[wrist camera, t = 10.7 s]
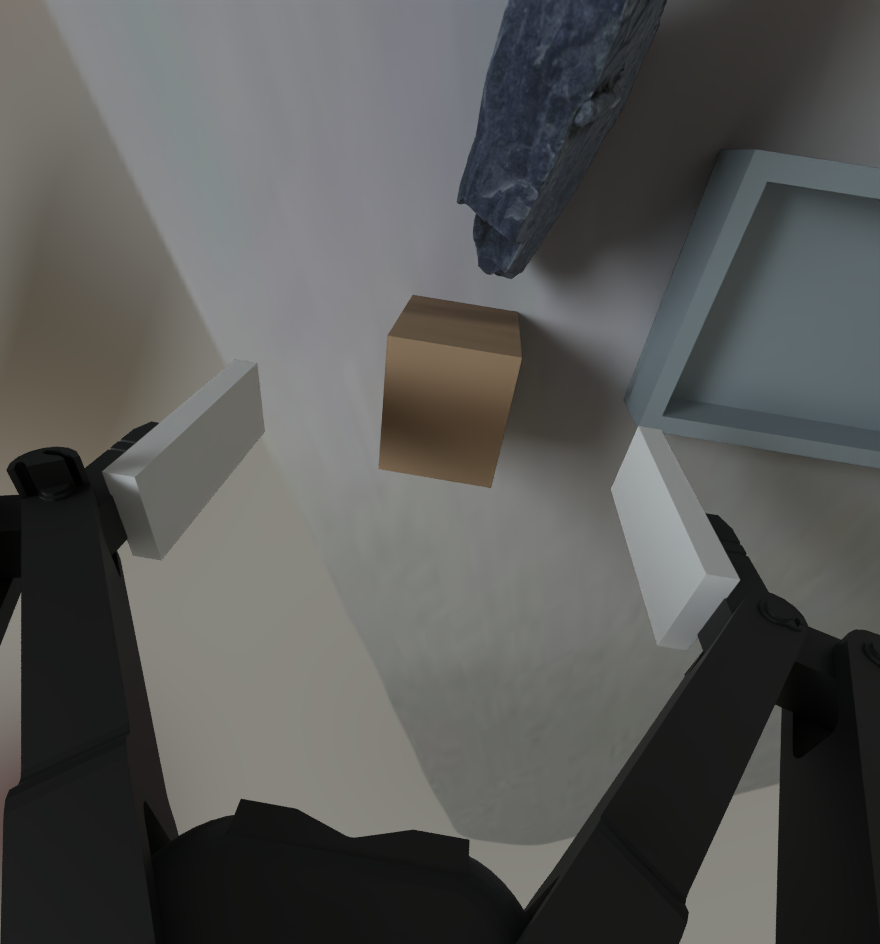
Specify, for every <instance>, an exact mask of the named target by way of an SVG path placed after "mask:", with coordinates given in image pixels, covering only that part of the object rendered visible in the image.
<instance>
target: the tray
mask: <svg viewBox="0 0 880 944" xmlns="http://www.w3.org/2000/svg"><path fill="white" fill-rule="evenodd" d="M624 402H625V404H626V406H627V408H628V410H629V412H630V414H631V416H632V418H633V420H634V422H635V424H636V426H637V428H638V426H642V427H648V428H654V429H660V430H661V431H662V433H667V434H673V435H679V436H685V437H691V438H697V439H703V440H709V441H715V442H721V443H727V444H733V445H740V446H746V447H752V448H758V449H764V450H770V451H776V452H782V453H788V454H794V455H800V456H806V457H812V458H819V459H825V460H831V461H837V462H843V463H849V464H855V465H861V466H867V467H873V468H879V469H880V168H873V167H867V166H860V165H854V164H847V163H841V162H835V161H828V160H822V159H815V158H809V157H802V156H796V155H790V154H783V153H777V152H770V151H764V150H757V149H721V150H720V153H719V155H718V158H717V160H716V163H715V165H714V168H713V171H712V173H711V176H710V178H709V181H708V184H707V186H706V189H705V191H704V194H703V196H702V199H701V202H700V204H699V207H698V209H697V212H696V215H695V217H694V220H693V222H692V225H691V227H690V230H689V233H688V235H687V238H686V240H685V243H684V245H683V248H682V251H681V253H680V256H679V258H678V261H677V264H676V266H675V269H674V271H673V274H672V276H671V279H670V282H669V284H668V287H667V289H666V292H665V295H664V297H663V300H662V302H661V305H660V307H659V310H658V313H657V315H656V318H655V320H654V323H653V326H652V328H651V331H650V333H649V336H648V338H647V341H646V344H645V346H644V349H643V351H642V354H641V357H640V359H639V362H638V364H637V367H636V369H635V372H634V375H633V377H632V380H631V382H630V385H629V388H628V390H627V393H626V395H625V398H624Z"/></svg>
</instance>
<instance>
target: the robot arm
mask: <svg viewBox="0 0 880 944" xmlns="http://www.w3.org/2000/svg"><path fill="white" fill-rule="evenodd" d="M264 432H265V429H264V420H263V411H262V402H261V393H260V384H259V375H258V366H257V363H254V362H248V361H242V360H236V359H235V360H234V361H233V362H232V363H230V364H229V365H228V366H227V367H226V368H224V369H223V370H222V371H221V372H220V373H219V374H217V375H216V376H215V377H214V378H213V379H211V380H210V381H209V382H208V383H207V384H205V385H204V386H203V387H202V388H201V389H199V390H198V391H197V392H196V393H195V394H194V395H192V396H191V397H190V398H189V399H188V400H186V401H185V402H184V403H183V404H182V405H180V406H179V407H178V408H177V409H176V410H175V411H173V412H172V413H171V414H170V415H169V416H168V417H166V418H165V419H164V420H163V421H162V422H160V423H156V422H149V423H147V424H145V425H142V426H140V427H138V428H135V429H133V430H132V431H131V432H129V434H127V435H126V436H124V437H123V438H122V439H121V441H120V442H117V443H116V444H114V445H113V446H112V447H111V449H110V450H107V451H106V452H104V453H103V454H102V455H101V456H100V457H98V458H97V459H96V460H95V461H93V462H92V463H91V464H89V465H88V466H87V467H86V468H84V466H83V463H82V461H81V458H80V456H79V455H78V453H77V452H76V451H75V450H72V449H70V448H65V447H49V448H42V449H38V450H34V451H30V452H28V453H26V454H23V455H21V456H19V457H17V458H16V459H15V460H14V461H12V462H11V463H10V464H9V466H8V468H7V472H8V474H9V476H10V478H11V480H12V482H13V484H14V486H15V488H16V489H17V492H18V493H19V495H5V496H0V644H1V642H2V640H3V637H4V634H5V632H6V629H7V627H8V624H9V621H10V619H11V616H12V614H13V611H14V609H15V606H16V604H17V601H18V599H19V596H20V594H21V779H20V782H19V784H18V785H17V786H15V787H13V788H12V789H10V790H9V792H8V795H7V797H6V799H5V808H4V820H3V862H2V904H1V944H679V942H680V940H681V938H682V935H683V932H684V930H685V927H686V924H687V920H688V913H689V912H688V910H687V908H686V905H685V903H686V898H687V895H688V893H689V890H690V888H691V886H692V883H693V881H694V879H695V877H696V875H697V872H698V870H699V868H700V866H701V864H702V862H703V859H704V857H705V855H706V853H707V851H708V848H709V846H710V844H711V842H712V840H713V837H714V836H715V834H716V831H717V829H718V827H719V825H720V823H721V820H722V818H723V816H724V814H725V812H726V810H727V808H728V805H729V803H730V801H731V799H732V797H733V794H734V792H735V790H736V788H737V786H738V784H739V781H740V779H741V777H742V775H743V773H744V771H745V768H746V766H747V764H748V762H749V760H750V758H751V755H752V753H753V751H754V749H755V747H756V745H757V742H758V740H759V738H760V736H761V734H762V731H763V729H764V727H765V725H766V723H767V721H768V718H769V716H770V714H771V712H772V710H773V708H774V705H778V706H780V707H782V717H781V756H780V794H779V795H780V796H779V833H778V870H777V908H776V944H880V635H878V634H875V633H872V632H869V631H867V630H854V631H851V632H849V633H848V634H847V635H846V636H845V637H844V638H843V639H842V640H840V639H838V638H835V637H833V636H830V635H828V634H826V633H823V632H821V631H818V630H816V629H813V628H811V627H808V624H807V622H806V620H805V618H804V616H803V615H802V614H801V613H800V612H799V611H798V610H797V609H796V608H795V607H794V606H793V605H791V604H790V603H789V602H787V601H786V600H785V599H783V598H781V597H778V596H776V595H774V594H772V593H769V592H768V590H767V588H766V587H765V585H764V583H763V581H762V580H761V578H760V576H759V574H758V573H757V571H756V569H755V567H754V566H753V564H752V562H751V561H750V559H749V557H748V556H746V552H745V550H744V548H743V547H742V545H740V541H739V540H738V538H737V536H736V534H735V533H734V531H733V529H732V528H731V527H730V526H729V525H728V524H727V523H726V522H725V521H723V520H722V519H721V518H720V517H719V516H718V515H713V514H707V513H705V512H704V510H703V508H702V506H701V505H700V503H699V501H698V499H697V497H696V495H695V493H694V491H693V489H692V488H691V486H690V484H689V482H688V480H687V478H686V476H685V474H684V472H683V470H682V469H681V467H680V465H679V463H678V461H677V459H676V457H675V455H674V453H673V452H672V450H671V448H670V446H669V444H668V442H667V440H666V438H665V436H664V435H663V433H662V431H661V430H660V429H654V428H648V427H642V426H638V428H637V430H636V433H635V435H634V437H633V439H632V442H631V444H630V446H629V449H628V451H627V453H626V456H625V458H624V460H623V462H622V465H621V467H620V469H619V472H618V474H617V476H616V479H615V481H614V483H613V485H612V488H611V492H612V495H613V498H614V502H615V505H616V508H617V512H618V515H619V518H620V522H621V525H622V528H623V532H624V535H625V538H626V542H627V545H628V548H629V552H630V555H631V559H632V562H633V565H634V569H635V572H636V575H637V579H638V582H639V585H640V589H641V592H642V595H643V599H644V602H645V605H646V609H647V612H648V615H649V619H650V622H651V625H652V629H653V632H654V635H655V639H656V642H657V645H658V646H662V647H668V648H674V649H679V650H685V651H687V650H688V649H689V648H690V646H691V645H692V644H693V642H694V641H695V640H696V638H697V637H698V638H699V641H700V643H701V646H702V649H703V652H702V653H701V654H700V655H699V657H698V658H697V659H696V661H695V662H694V663H693V664H692V666H691V667H690V668H689V669H688V671H687V672H686V673H685V677H684V679H683V680H682V682H681V683H680V684H679V686H678V687H677V689H676V690H675V692H674V693H673V695H672V696H671V698H670V699H669V701H668V702H667V704H666V705H665V706H664V708H663V709H662V711H661V712H660V714H659V715H658V717H657V718H656V720H655V721H654V723H653V724H652V726H651V727H650V728H649V730H648V731H647V733H646V734H645V736H644V737H643V739H642V740H641V742H640V743H639V745H638V746H637V748H636V749H635V751H634V752H633V753H632V755H631V756H630V758H629V759H628V761H627V762H626V764H625V765H624V767H623V768H622V770H621V771H620V773H619V774H618V775H617V777H616V778H615V780H614V781H613V783H612V784H611V786H610V787H609V789H608V790H607V792H606V793H605V795H604V796H603V797H602V799H601V800H600V802H599V803H598V805H597V806H596V808H595V809H594V811H593V812H592V814H591V815H590V817H589V818H588V820H587V821H586V822H585V824H584V825H583V827H582V828H581V830H580V831H579V833H578V834H577V836H576V837H575V839H574V840H573V842H572V843H571V845H570V846H569V847H568V849H567V850H566V852H565V853H564V855H563V856H562V858H561V859H560V861H559V862H558V864H557V865H556V866H555V868H554V870H553V871H552V872H551V874H550V875H549V876H548V877H547V879H546V880H545V881H544V883H543V884H542V885H541V887H540V888H539V889H538V891H537V892H536V894H535V895H534V897H533V898H532V899H531V901H530V902H529V904H528V905H527V907H526V908H525V909H523V908H522V906H521V905H520V903H519V902H518V900H517V899H516V897H515V896H514V895H513V894H512V892H511V891H510V890H509V889H508V888H507V886H506V885H505V884H504V883H503V882H502V881H501V880H500V879H499V878H498V877H497V876H496V875H495V874H494V873H493V872H492V871H491V870H489V869H488V868H487V867H485V866H484V865H483V864H481V863H480V862H478V861H477V860H475V859H473V858H471V857H470V856H469V840H468V839H462V838H456V837H451V836H445V835H440V834H434V833H429V832H423V831H417V830H408V831H401V832H393V833H386V834H379V835H372V836H364V837H357V838H352V837H348V836H345V835H343V834H341V833H340V832H338V831H336V830H334V829H333V828H331V827H329V826H327V825H325V824H323V823H322V822H320V821H318V820H316V819H314V818H312V817H311V816H309V815H307V814H305V813H303V812H301V811H300V810H298V809H295V808H289V807H284V806H278V805H273V804H267V803H261V802H256V801H250V800H245V799H241V800H240V802H239V805H238V807H237V810H236V812H235V815H231V816H225V817H222V818H218V819H215V820H211V821H209V822H206V823H204V824H201V825H199V826H196V827H195V828H192V829H191V830H189V831H187V832H185V833H183V834H181V835H180V836H179V835H178V831H177V828H176V824H175V820H174V817H173V815H172V811H171V808H170V805H169V801H168V798H167V793H166V788H165V783H164V778H163V773H162V768H161V763H160V758H159V753H158V748H157V743H156V737H155V732H154V728H153V723H152V717H151V712H150V707H149V702H148V697H147V692H146V687H145V682H144V676H143V671H142V666H141V661H140V656H139V651H138V646H137V641H136V636H135V631H134V626H133V621H132V616H131V610H130V606H129V600H128V595H127V590H126V586H125V580H124V575H123V570H122V565H121V560H120V557H119V554H118V552H117V550H118V549H119V548H120V546H121V545H122V544H123V543H124V542H125V541H126V540H127V541H128V543H129V546H130V549H131V551H132V554H133V556H139V557H145V558H151V559H157V560H162V559H163V558H164V556H165V555H166V554H167V553H168V551H169V550H170V549H171V548H172V547H173V545H174V544H175V543H176V542H177V540H178V539H179V538H180V536H181V535H182V534H183V533H184V532H185V530H186V529H187V528H188V527H189V525H190V524H191V523H192V522H193V520H194V519H195V518H196V517H197V515H198V514H199V513H200V512H201V510H202V509H203V508H204V507H205V505H206V504H207V503H208V502H209V500H210V499H211V498H212V496H213V495H214V494H215V493H216V492H217V490H218V489H219V488H220V487H221V485H222V484H223V483H224V481H225V480H226V479H227V478H228V477H229V475H230V474H231V473H232V472H233V470H234V469H235V468H236V467H237V465H238V464H239V463H240V462H241V460H242V459H243V458H244V457H245V455H246V454H247V453H248V452H249V450H250V449H251V448H252V447H253V445H254V444H255V443H256V442H257V441H258V439H259V438H260V437H261V436H262V434H263V433H264Z"/></svg>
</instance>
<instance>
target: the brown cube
mask: <svg viewBox="0 0 880 944" xmlns="http://www.w3.org/2000/svg"><path fill="white" fill-rule="evenodd" d="M521 360H522V351H521V340H520V329H519V319H518V312H515V311H509V310H503V309H497V308H490V307H484V306H478V305H472V304H466V303H459V302H453V301H447V300H441V299H435V298H429V297H422V296H416V295H412V297H411V299H410V300H409V302H408V303H407V305H406V307H405V308H404V310H403V312H402V313H401V315H400V316H399V318H398V320H397V321H396V323H395V324H394V326H393V328H392V329H391V331H390V332H389V334H388V336H387V351H386V366H385V381H384V397H383V412H382V427H381V442H380V457H379V469H382V470H388V471H394V472H400V473H406V474H412V475H418V476H424V477H430V478H435V479H441V480H447V481H453V482H459V483H465V484H471V485H477V486H483V487H488V488H491V486H492V482H493V478H494V474H495V469H496V465H497V461H498V457H499V453H500V448H501V444H502V440H503V436H504V432H505V428H506V423H507V419H508V415H509V411H510V407H511V402H512V398H513V394H514V390H515V386H516V381H517V377H518V373H519V369H520V365H521Z"/></svg>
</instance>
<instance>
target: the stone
mask: <svg viewBox="0 0 880 944" xmlns="http://www.w3.org/2000/svg"><path fill="white" fill-rule="evenodd" d="M666 2H667V0H509V1H508V4H507V7H506V9H505V12H504V15H503V19H502V22H501V26H500V30H499V33H498V37H497V41H496V44H495V48H494V51H493V55H492V58H491V61H490V65H489V68H488V71H487V75H486V80H485V85H484V90H483V95H482V101H481V107H480V113H479V120H478V126H477V132H476V137H475V140H474V142H473V145H472V148H471V151H470V153H469V156H468V160H467V164H466V168H465V171H464V174H463V177H462V180H461V183H460V187H459V193H458V198H457V203H458V204H467V205H468V206H469V207H470V208H471V209H472V210H473V211H474V212H475V213H476V216H475V220H474V227H473V238H474V241H475V245H476V248H477V256H478V266H479V267H480V268H481V269H482V270H483V271H484V272H485V273H486V274H490V275H492V274H496V275H498V276H503V277H506V278H509V279H512V278H514V277H515V276H516V275H517V274H519V273H521V272H523V270H524V269H525V267H526V266H527V264H528V263H529V261H530V260H531V258H532V256H533V255H534V253H535V252H536V250H537V249H538V247H539V246H540V244H541V243H542V241H543V239H544V238H545V236H546V235H547V233H548V231H549V230H550V228H551V227H552V225H553V224H554V222H555V221H556V219H557V218H558V216H559V215H560V213H561V212H562V210H563V209H564V207H565V206H566V204H567V203H568V201H569V200H570V198H571V197H572V195H573V194H574V192H575V191H576V189H577V188H578V186H579V184H580V182H581V180H582V178H583V176H584V174H585V172H586V171H587V169H588V167H589V166H590V164H591V162H592V160H593V158H594V156H595V154H596V152H597V150H598V148H599V146H600V144H601V142H602V141H603V139H604V137H605V136H606V134H607V133H608V131H609V130H610V129H611V127H612V126H613V125H614V123H615V122H616V120H617V118H618V115H619V114H620V112H621V111H622V110H623V108H624V104H625V102H626V100H627V98H628V96H629V93H630V91H631V88H632V86H633V84H634V81H635V79H636V76H637V74H638V72H639V69H640V66H641V64H642V61H643V58H644V55H645V54H646V52H647V50H648V48H649V47H650V45H651V43H652V41H653V38H654V36H655V34H656V32H657V29H658V27H659V24H660V16H661V15H662V13H663V10H664V7H665V4H666Z"/></svg>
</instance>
